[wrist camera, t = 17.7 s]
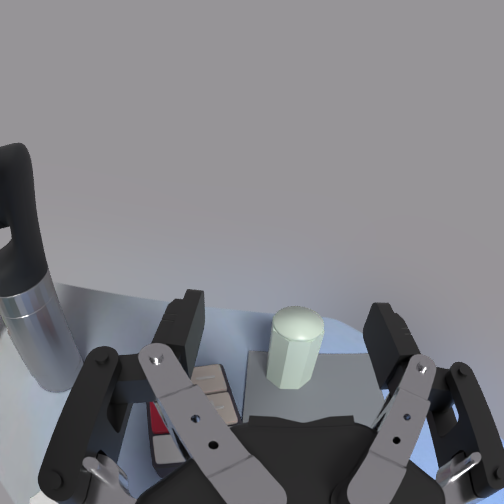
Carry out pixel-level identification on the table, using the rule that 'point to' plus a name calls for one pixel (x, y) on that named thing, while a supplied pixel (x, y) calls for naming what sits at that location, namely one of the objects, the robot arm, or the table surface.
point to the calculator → (219, 396)
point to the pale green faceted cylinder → (294, 346)
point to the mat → (316, 390)
